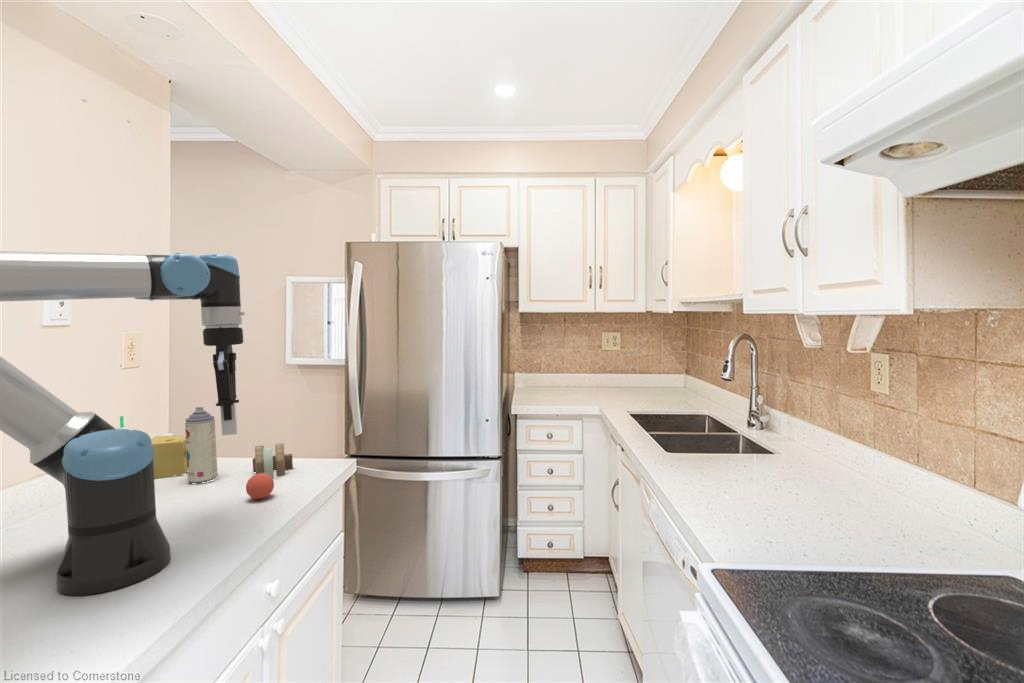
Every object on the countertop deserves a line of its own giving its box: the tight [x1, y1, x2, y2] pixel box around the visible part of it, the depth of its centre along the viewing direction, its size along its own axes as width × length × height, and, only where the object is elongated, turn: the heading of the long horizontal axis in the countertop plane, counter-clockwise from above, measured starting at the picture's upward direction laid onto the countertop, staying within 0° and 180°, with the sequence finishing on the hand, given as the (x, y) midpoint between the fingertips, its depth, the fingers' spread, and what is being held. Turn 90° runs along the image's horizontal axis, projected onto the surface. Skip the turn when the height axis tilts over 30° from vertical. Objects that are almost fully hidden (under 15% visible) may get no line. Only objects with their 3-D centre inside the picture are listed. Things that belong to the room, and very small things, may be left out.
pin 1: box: [254, 444, 265, 474], centre depth 135 cm, size 2×2×8 cm
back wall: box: [252, 453, 294, 473], centre depth 141 cm, size 2×10×4 cm, turn 109°
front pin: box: [263, 447, 275, 479], centre depth 133 cm, size 2×2×8 cm
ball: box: [245, 473, 275, 500], centre depth 118 cm, size 6×6×6 cm
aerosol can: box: [184, 406, 219, 484], centre depth 133 cm, size 7×7×20 cm
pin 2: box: [274, 443, 286, 477], centre depth 137 cm, size 2×2×8 cm
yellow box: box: [151, 435, 188, 479], centre depth 141 cm, size 10×11×10 cm
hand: (229, 433), depth 109 cm, fingers closed
